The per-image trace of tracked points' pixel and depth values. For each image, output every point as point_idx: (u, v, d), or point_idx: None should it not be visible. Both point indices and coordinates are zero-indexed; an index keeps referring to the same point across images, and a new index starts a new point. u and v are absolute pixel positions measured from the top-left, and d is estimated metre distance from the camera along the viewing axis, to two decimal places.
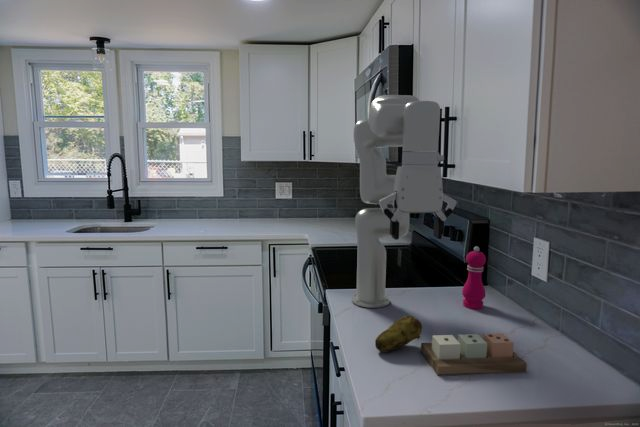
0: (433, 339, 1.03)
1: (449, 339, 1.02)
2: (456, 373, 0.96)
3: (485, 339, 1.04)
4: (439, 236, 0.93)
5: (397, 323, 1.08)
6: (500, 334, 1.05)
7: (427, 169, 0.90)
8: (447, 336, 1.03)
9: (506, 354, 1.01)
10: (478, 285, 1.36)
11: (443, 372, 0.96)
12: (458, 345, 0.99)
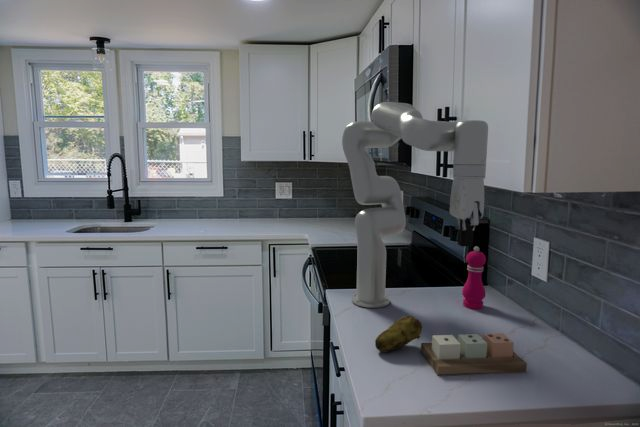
0: (433, 339, 1.03)
1: (449, 339, 1.02)
2: (456, 373, 0.96)
3: (485, 339, 1.04)
4: None
5: (397, 323, 1.08)
6: (500, 334, 1.05)
7: None
8: (447, 336, 1.03)
9: (506, 354, 1.01)
10: (478, 285, 1.36)
11: (443, 372, 0.96)
12: (458, 345, 0.99)
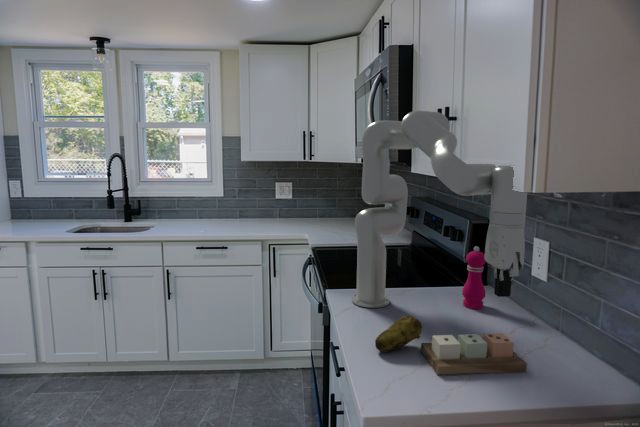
0: (433, 339, 1.03)
1: (449, 339, 1.02)
2: (456, 373, 0.96)
3: (485, 339, 1.04)
4: None
5: (397, 323, 1.08)
6: (500, 334, 1.05)
7: None
8: (447, 336, 1.03)
9: (506, 354, 1.01)
10: (478, 285, 1.36)
11: (443, 372, 0.96)
12: (458, 345, 0.99)
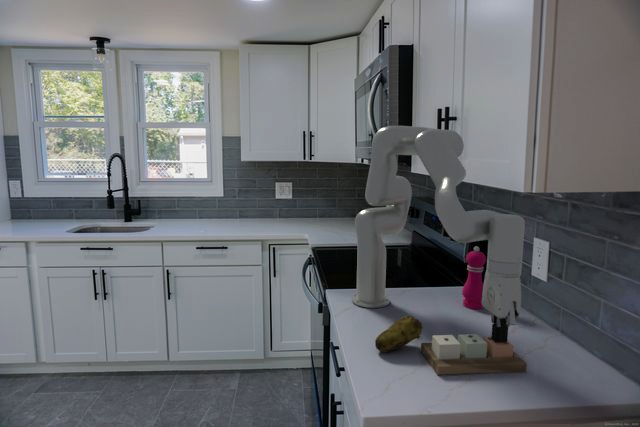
0: (433, 339, 1.03)
1: (449, 339, 1.02)
2: (456, 373, 0.96)
3: None
4: None
5: (397, 323, 1.08)
6: None
7: None
8: (447, 336, 1.03)
9: None
10: (478, 285, 1.36)
11: (443, 372, 0.96)
12: (458, 345, 0.99)
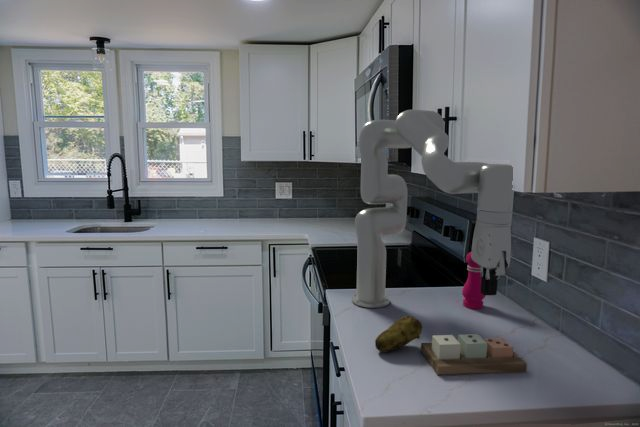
0: (433, 339, 1.03)
1: (449, 339, 1.02)
2: (456, 373, 0.96)
3: None
4: None
5: (397, 323, 1.08)
6: (500, 339, 1.05)
7: None
8: (447, 336, 1.03)
9: None
10: (478, 285, 1.36)
11: (443, 372, 0.96)
12: (458, 345, 0.99)
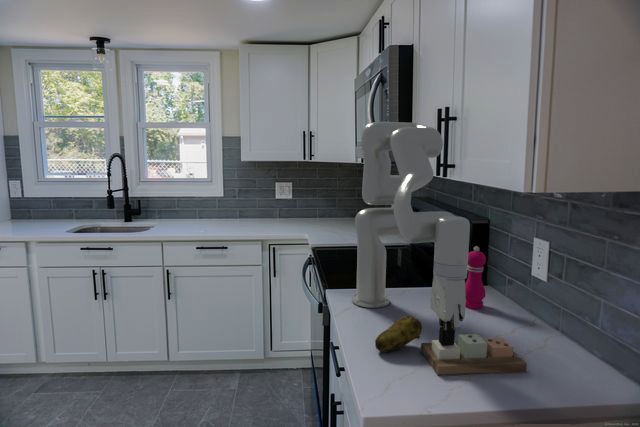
0: (433, 344, 1.03)
1: None
2: (456, 373, 0.96)
3: None
4: None
5: (397, 323, 1.08)
6: (500, 339, 1.05)
7: None
8: None
9: None
10: (478, 285, 1.36)
11: (443, 372, 0.96)
12: (458, 350, 1.00)
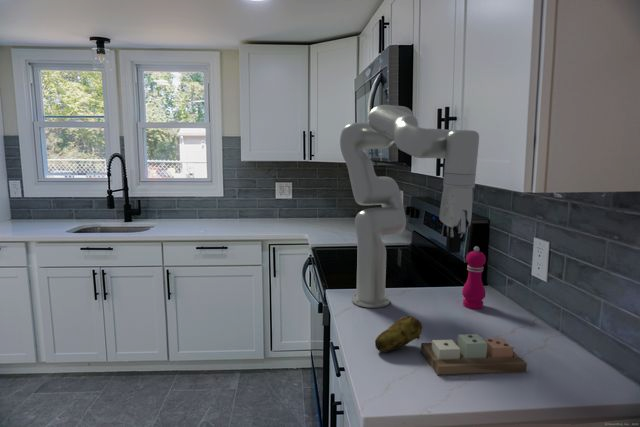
0: (433, 344, 1.03)
1: (449, 344, 1.02)
2: (456, 373, 0.96)
3: None
4: None
5: (397, 323, 1.08)
6: (500, 339, 1.05)
7: None
8: (447, 341, 1.04)
9: None
10: (478, 285, 1.36)
11: (443, 372, 0.96)
12: (458, 350, 1.00)
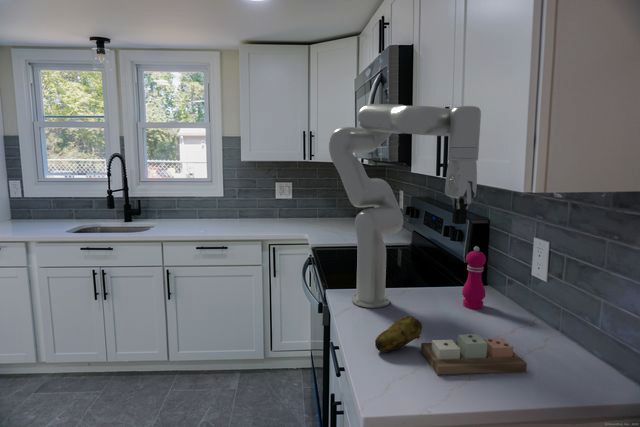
0: (433, 344, 1.03)
1: (449, 344, 1.02)
2: (456, 373, 0.96)
3: None
4: None
5: (397, 323, 1.08)
6: (500, 339, 1.05)
7: None
8: (447, 341, 1.04)
9: None
10: (478, 285, 1.36)
11: (443, 372, 0.96)
12: (458, 350, 1.00)
